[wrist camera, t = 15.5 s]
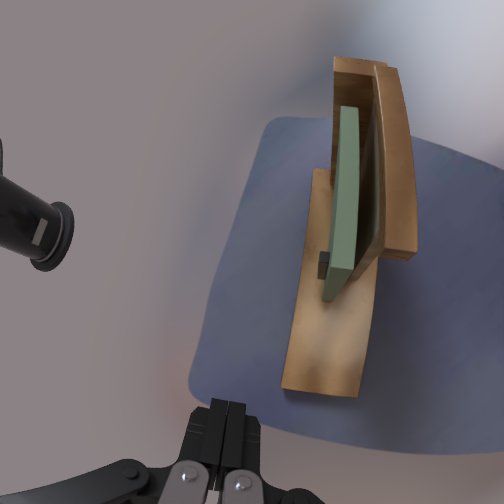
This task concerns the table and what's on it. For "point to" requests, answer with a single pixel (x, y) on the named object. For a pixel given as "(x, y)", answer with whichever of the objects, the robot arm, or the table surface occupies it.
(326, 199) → the door frame
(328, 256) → the door
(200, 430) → the robot arm
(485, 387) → the table surface
